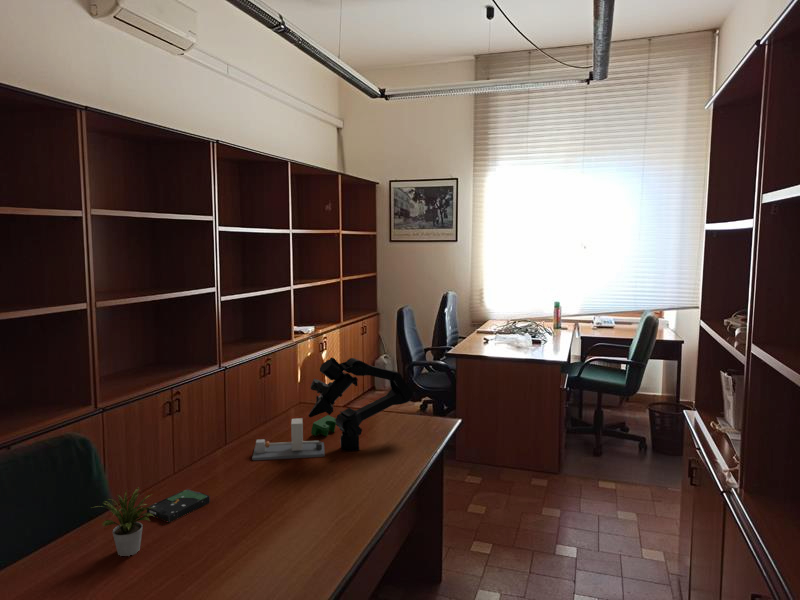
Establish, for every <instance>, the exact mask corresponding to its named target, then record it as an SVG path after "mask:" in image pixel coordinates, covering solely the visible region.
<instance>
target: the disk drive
mask: <svg viewBox="0 0 800 600" xmlns="http://www.w3.org/2000/svg"><path fill="white" fill-rule="evenodd" d="M210 503H211V499H210V495H207V494H205V493H202V492H199V491H194V490H191V489H190V488H188V489H185V490H181V491H179V492H177V493H175V494H173V495H171V496H169V497H166V498H164V499H162V500H159V501H158V502H155V503H153V504H150V505H148V507H153V508H151V509H147V510H146V513H152V514H153V516H155V517H158V518H160V519H163V520H165V521H164V522H166V521H168V522H171V521H173V520H175V519H177V518H179V517H181V516H183V515H185V514H186V515H188V514H190V513H193V512H194V511H196V510H198V509H200V508H201V507H204V506H206V505H209V504H210ZM193 510H194V511H193ZM189 512H190V513H189ZM187 513H188V514H187ZM186 515H185V516H186ZM155 517H154V518H155ZM183 517H184V516H183ZM181 518H182V517H181ZM160 519H159V520H160ZM179 519H180V518H179ZM163 520H162V521H163ZM177 520H178V519H177ZM175 521H176V520H175ZM168 522H167V523H168ZM173 522H174V521H173ZM171 523H172V522H171Z"/></svg>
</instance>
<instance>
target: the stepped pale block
mask: <svg viewBox="0 0 800 600" xmlns="http://www.w3.org/2000/svg"><path fill="white" fill-rule="evenodd" d="M303 426H304V422H303V417H300V418H291V423H290V428H291V429H290V430H291V435H290V436H291V442H292V451H295V450H303V441H304V431H303V429H304V427H303Z"/></svg>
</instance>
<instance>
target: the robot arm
mask: <svg viewBox="0 0 800 600" xmlns="http://www.w3.org/2000/svg"><path fill="white" fill-rule="evenodd" d="M319 372H321V374H323V375H324V376H325V377H326V378H328V379H329V380H330V381H331V382H330V381H329V382H328V383H326V382H323V381H322V380H319V379H317V378H316V379H315V378H313V379H312V382H311V384H310V389H311V390H312V391H315V392H316V393H317V394H319V395H316V396H315V397H316V398H315V404H314V405H313V407H312V409H311V410H310V411H309V414H308V417H309V418H312V417H315V416H318V415H320V414H323V413H326V414H327V415H329V416H331V415H332V413H334V405H335V402H336V401H337V400H338V399H339V398H342V397H343V394H344V393H345V392H346V391H347V390H348V389H349V388H350V387H351V386H352V384H353V385H354V386H355V387H358V386H359V385H358V380H359V379H358V378H357V376H358V377H359V376H360V377H367V376H371V377H375V378H379V379H383V380H388V381H389V386H390V390H389V391H388V392H387V394H386V395H384V396H382V397H380V398H378V399H376V400H374V401H372V402H370V403H367V404H366V405H364V406H362V407H360V408H358V409H355V410H354V409H352V408H351V407H347V408H346V409H345V410H340V412H339V413H338V414H337V416H336V417H335V418H336V426H337V427H338V428H339V430H340V431H341V435H340V449H342V450H341V451H342V452H353V451H354V452H355V451H357V452H358V451H360V450H361V449H360V448H361V447H360V436H361V435H362V432H363V428H362V427H360V425H361V424H362V422H364V421H365V420H367V419H369V418H371V417H373V416H375V415H377V414H379V413H381V412H383V411H384V410H387V409H389V408H390V407H392V406H398V405H404V404H407V403H409V402H410V401H411V400H412V398H413V391H412V390H411V388H410V387H409V385H408V384H407V383H406V381H405V380H404V379H403V376H402V374H401V373H400V372H398V371H397V370H396V371H395V369H394V370H391V369H386V368H382V367H378V366H374V365H370V364H368V363H366V362H364V361H362V360H359V359H357V358H354V357H350V358H348V359H347V360H346V361H344V362H338V361H337V360H336V359H335V358H334V357H332V356H331V357H330V358H328V359H327V360H325V361H324V362H323V363H322V364H321V366H320V368H319ZM352 375H353V376H352Z"/></svg>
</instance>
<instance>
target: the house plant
mask: <svg viewBox="0 0 800 600" xmlns="http://www.w3.org/2000/svg"><path fill="white" fill-rule="evenodd" d="M127 490H128V489H125V492H124V497H123V498H122V496H121V495H120V494H119V493H117V494H116V495H117V498H118V502H119V504H120V506H119V504H118V503H117V501H115V500H114V499H110V498H109V500H111V501H113V502H114V503H115V504H116V505H117V508H116V507H115V506H114V505H112V504H111V503H110V502H109V501H105V500H104V502H102V504H103V505H105V506H103V505H101V506H100V505H97V506H93V507H91V509H92V508H98V507H99V508H100V507H103V508H106V509H108V510H109V511H110V512H111V513H112V516H115V517H117V519H118V522H119V523H117V522H115V521H114V520H111V519H107V520H104V521H103V522H102V524H101V526H104V527H107V526H110V525H117V526H115V527H114V528H113V530H112V535H113V539H114V544H115V548H116V551H117V555H118V556H119V555H120V556H119V557H121V556H128V557H131V556H130V555H132V556H134V555H136V554H138V553H139V552H140V549H141V544H142V536H143V535H142V534H143V526H144V525H143V523H141V522H140V521H149V522H151V520H150V518H149V517H152V516H153V514H152V513H147V512H144V511H147V509H151V508H153V507H149V506H150V505H149V504H147V503H144V502H145V500H146V499H148V498H149V497H151V496H152V495H153V493H151V494H149V495H147V496H145V497H144V498H142V500H141V501H140V502H139V503H138V505H137V506H135V503H136V501H137V498H138V496H139V494H140V492H141V491H140V487H137V488H135V490H134V492H133V493H132V495H131V497H130V500H129V502H128V497H127V493H128V492H127ZM139 491H140V492H139ZM146 505H148V506H147V507H146ZM143 506H145V507H143ZM143 512H144V513H143ZM142 516H143V517H142ZM152 518H155V517H154V516H153V517H152ZM138 551H139V552H138ZM137 552H138V553H137Z"/></svg>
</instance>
